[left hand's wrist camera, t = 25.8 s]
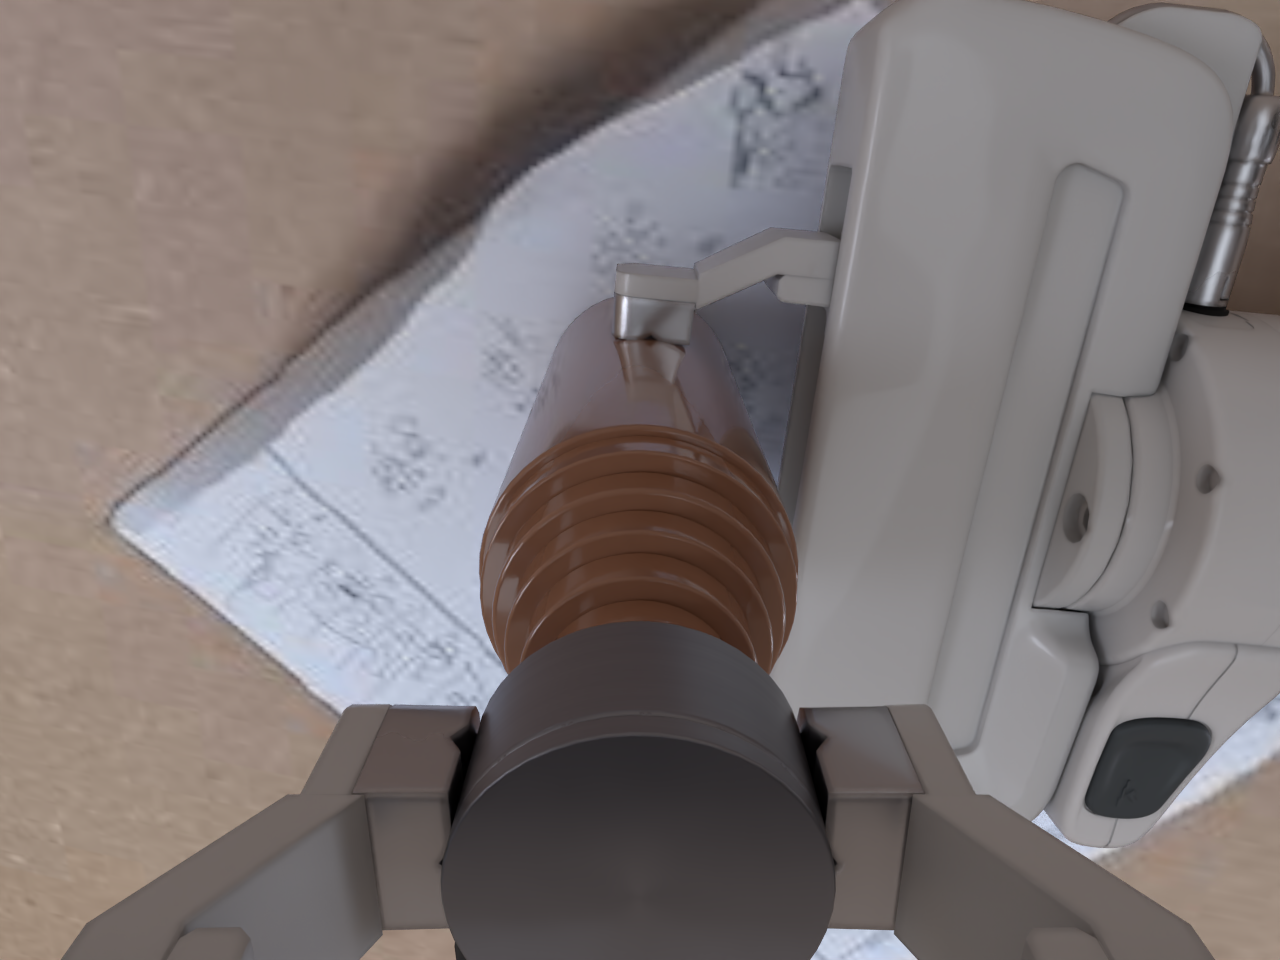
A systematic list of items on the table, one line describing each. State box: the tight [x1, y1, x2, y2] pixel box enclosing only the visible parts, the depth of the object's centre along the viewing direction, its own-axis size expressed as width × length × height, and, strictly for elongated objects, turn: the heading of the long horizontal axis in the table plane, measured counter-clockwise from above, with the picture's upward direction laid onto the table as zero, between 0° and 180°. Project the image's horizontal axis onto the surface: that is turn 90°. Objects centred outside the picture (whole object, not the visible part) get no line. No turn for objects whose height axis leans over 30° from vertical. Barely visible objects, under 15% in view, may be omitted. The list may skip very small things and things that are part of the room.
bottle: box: [479, 297, 799, 675], centre depth 18 cm, size 5×5×18 cm
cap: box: [441, 621, 836, 960], centre depth 10 cm, size 4×4×2 cm
